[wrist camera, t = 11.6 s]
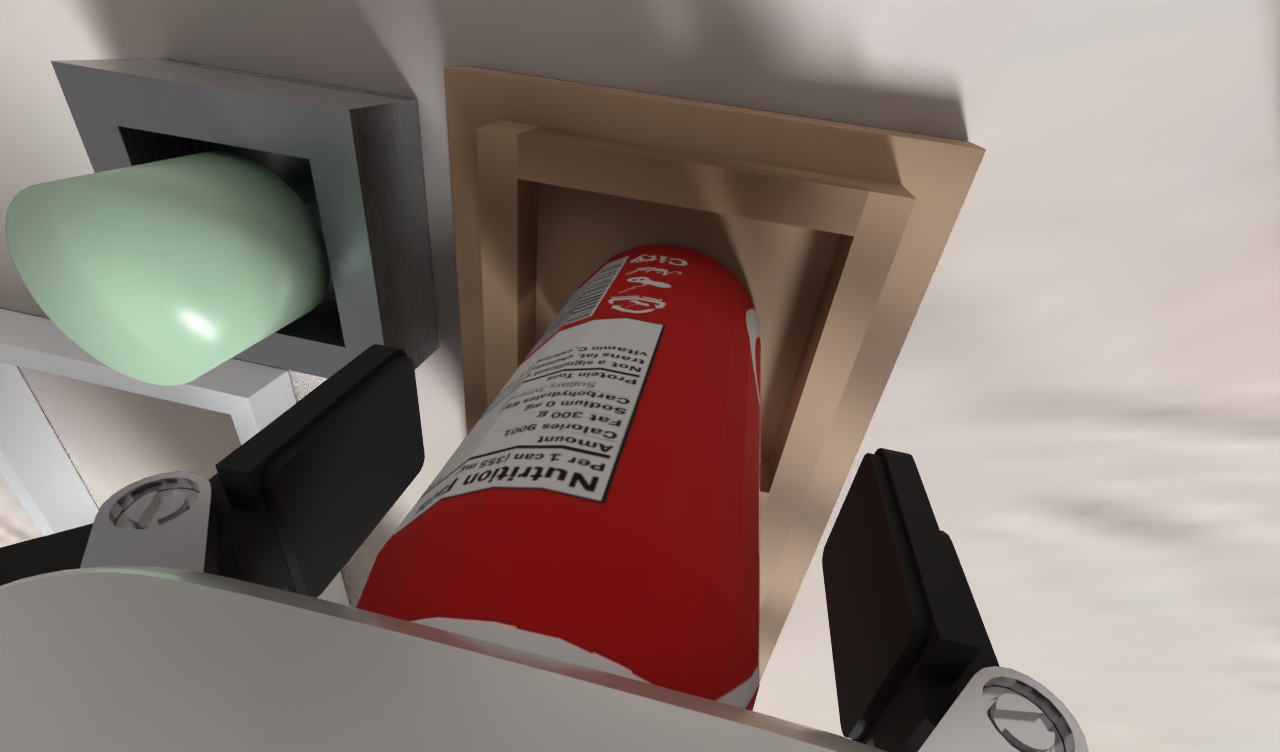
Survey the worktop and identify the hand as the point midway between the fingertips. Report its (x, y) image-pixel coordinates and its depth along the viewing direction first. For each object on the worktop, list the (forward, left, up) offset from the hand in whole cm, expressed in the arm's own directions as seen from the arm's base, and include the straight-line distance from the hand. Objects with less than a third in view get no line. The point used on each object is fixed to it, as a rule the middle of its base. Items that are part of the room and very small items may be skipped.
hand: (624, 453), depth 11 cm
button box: (+1, +12, -7) cm, 14 cm away
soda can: (0, 0, -6) cm, 6 cm away
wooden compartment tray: (-5, 0, -7) cm, 9 cm away
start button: (+1, +12, -4) cm, 13 cm away
